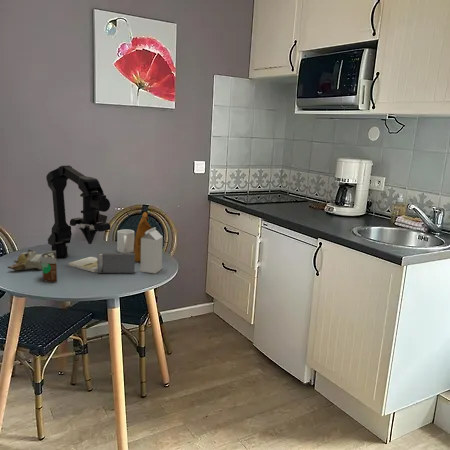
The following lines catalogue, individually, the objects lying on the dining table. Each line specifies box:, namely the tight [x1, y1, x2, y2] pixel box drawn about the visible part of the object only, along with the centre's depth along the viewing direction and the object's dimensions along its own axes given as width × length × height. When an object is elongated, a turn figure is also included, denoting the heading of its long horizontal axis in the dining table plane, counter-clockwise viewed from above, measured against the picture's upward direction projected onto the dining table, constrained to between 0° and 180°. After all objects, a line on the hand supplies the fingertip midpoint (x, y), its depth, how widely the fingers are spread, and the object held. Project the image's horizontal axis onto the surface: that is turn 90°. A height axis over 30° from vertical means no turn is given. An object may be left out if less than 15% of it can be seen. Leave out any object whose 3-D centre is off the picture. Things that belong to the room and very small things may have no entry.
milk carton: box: [139, 226, 164, 274], centre depth 199 cm, size 7×7×19 cm
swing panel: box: [96, 252, 136, 274], centre depth 194 cm, size 15×3×8 cm, turn 101°
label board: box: [68, 256, 97, 273], centre depth 203 cm, size 15×13×2 cm
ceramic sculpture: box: [6, 249, 42, 271], centre depth 193 cm, size 11×9×15 cm
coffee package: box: [132, 211, 153, 263], centre depth 215 cm, size 10×12×22 cm
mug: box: [116, 228, 135, 253], centre depth 226 cm, size 12×8×10 cm
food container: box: [40, 250, 58, 283], centre depth 182 cm, size 12×6×10 cm, turn 21°
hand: (90, 243), depth 197 cm, fingers closed
